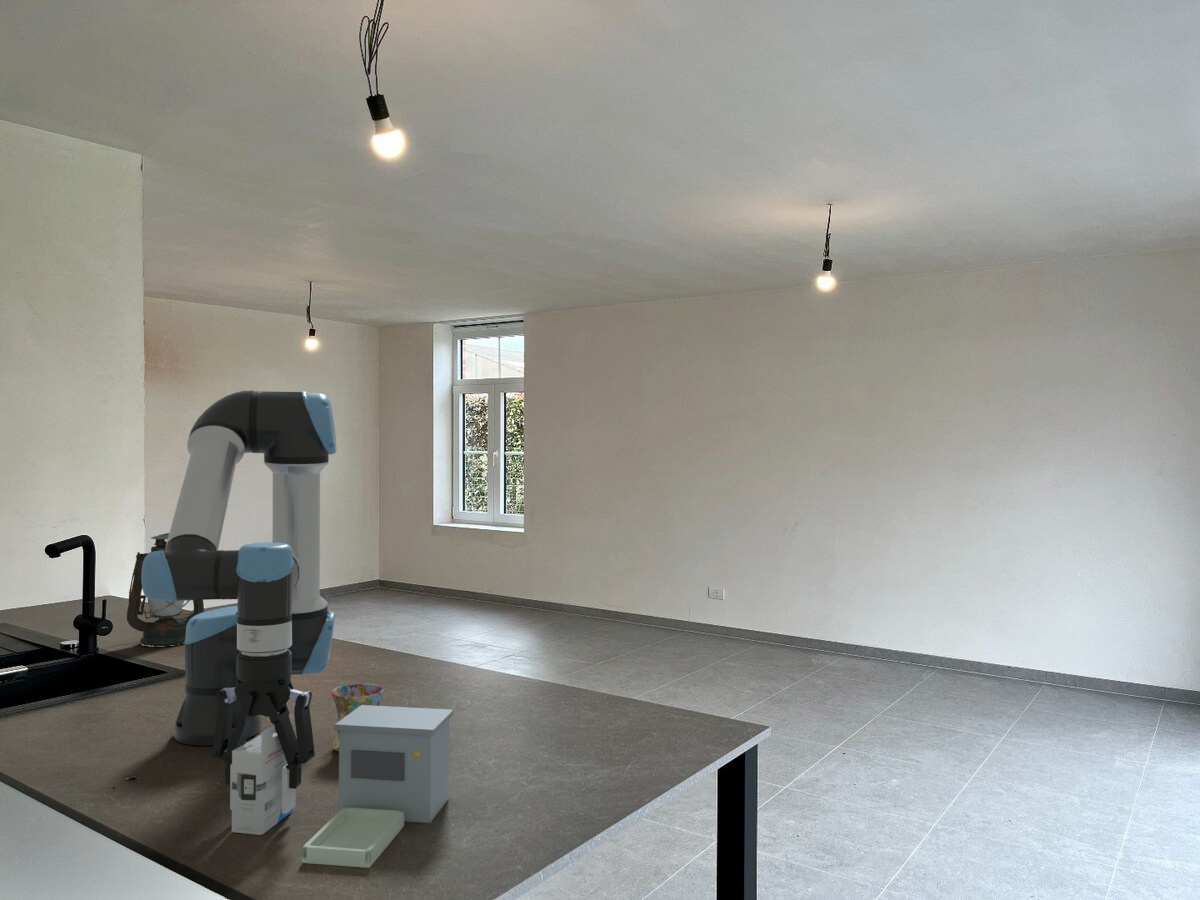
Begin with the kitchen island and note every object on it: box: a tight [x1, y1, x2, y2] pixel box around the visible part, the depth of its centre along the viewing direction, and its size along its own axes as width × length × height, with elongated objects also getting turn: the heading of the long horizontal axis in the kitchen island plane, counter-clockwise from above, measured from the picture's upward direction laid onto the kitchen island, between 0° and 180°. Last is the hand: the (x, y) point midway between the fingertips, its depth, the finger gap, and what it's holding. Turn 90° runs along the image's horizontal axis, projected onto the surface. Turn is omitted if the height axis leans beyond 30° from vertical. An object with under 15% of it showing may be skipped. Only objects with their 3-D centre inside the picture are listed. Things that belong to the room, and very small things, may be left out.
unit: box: [334, 705, 454, 824], centre depth 137 cm, size 15×10×14 cm, turn 83°
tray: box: [301, 807, 405, 869], centre depth 125 cm, size 9×13×2 cm
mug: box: [330, 683, 385, 752], centre depth 164 cm, size 12×9×11 cm
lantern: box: [126, 532, 205, 646], centre depth 246 cm, size 19×14×30 cm
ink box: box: [231, 714, 294, 836], centre depth 131 cm, size 9×5×15 cm, turn 168°
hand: (262, 807), depth 131 cm, fingers open, 7 cm apart
